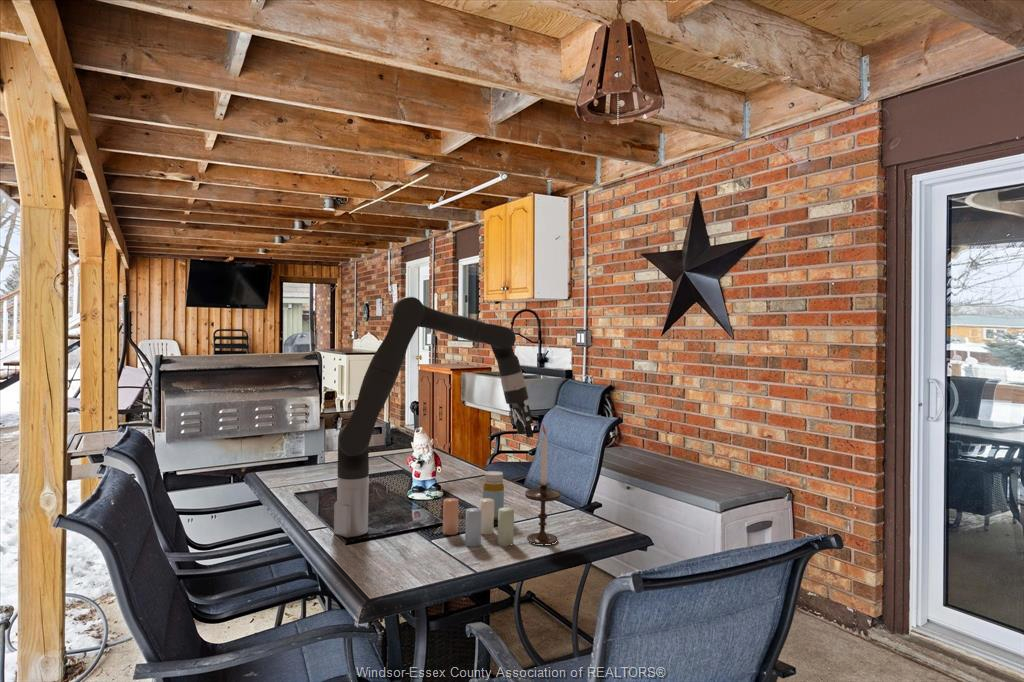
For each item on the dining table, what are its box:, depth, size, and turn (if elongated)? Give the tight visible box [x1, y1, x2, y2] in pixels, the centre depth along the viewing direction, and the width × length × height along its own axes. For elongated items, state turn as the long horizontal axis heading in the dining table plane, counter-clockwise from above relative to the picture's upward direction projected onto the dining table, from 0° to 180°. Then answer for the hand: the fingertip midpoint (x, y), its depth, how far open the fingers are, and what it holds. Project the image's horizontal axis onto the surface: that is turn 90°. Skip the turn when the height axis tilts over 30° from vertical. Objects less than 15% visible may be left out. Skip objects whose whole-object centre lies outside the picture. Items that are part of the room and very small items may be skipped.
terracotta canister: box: [442, 497, 459, 536], centre depth 190 cm, size 5×5×10 cm
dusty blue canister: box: [464, 507, 482, 548], centre depth 180 cm, size 5×5×10 cm
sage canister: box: [497, 507, 515, 547], centre depth 181 cm, size 5×5×10 cm
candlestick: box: [524, 425, 563, 545], centre depth 184 cm, size 11×11×35 cm
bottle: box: [482, 470, 505, 521], centre depth 205 cm, size 7×7×15 cm
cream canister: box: [478, 497, 495, 536], centre depth 190 cm, size 5×5×10 cm
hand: (525, 435), depth 201 cm, fingers open, 8 cm apart
